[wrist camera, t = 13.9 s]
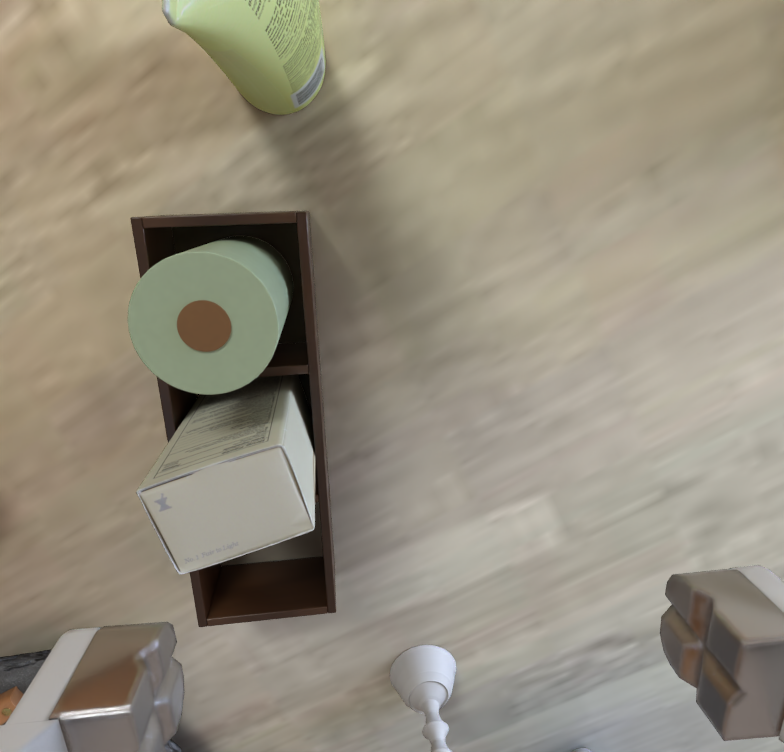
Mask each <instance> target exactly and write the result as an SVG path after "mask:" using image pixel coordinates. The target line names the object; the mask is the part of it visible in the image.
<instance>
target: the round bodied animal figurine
mask: <svg viewBox="0 0 784 752" xmlns="http://www.w3.org/2000/svg"><path fill="white" fill-rule="evenodd" d="M571 752H592V751H590V750H589V749H587V748H578V749H575V750H573V751H571Z"/></svg>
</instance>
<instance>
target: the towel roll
mask: <svg viewBox="0 0 784 752" xmlns="http://www.w3.org/2000/svg"><path fill="white" fill-rule="evenodd" d="M293 291H294V283H293V277H292V273H291V270H290V268H289V266H288V264H287V262H286V260H285V259H284V258H283V256H282V255H281V254H280V253H279V252H278V251H277V250H276V249H275V248H274V247H273V246H271V245H270V244H268V243H267V242H265V241H263V240H260V239H258V238H255V237H251V236H242V235H238V236H230V237H226V238H223V239H220V240H217V241H214V242H211V243H208V244H205V245H202V246H199V247H196V248H193V249H190V250H187V251H184V252H181V253H178V254H175V255H173V256H170V257H168V258H165V259H163V260H162V261H160V262H158V263H157V264H155V265H154V266H153V267H151V268H150V269H149V270H148V271H147V272H146V273H145V274H144V275H143V276H142V278H141V279H140V280H139V282H138V283H137V285H136V287H135V289H134V291H133V293H132V296H131V299H130V302H129V308H128V328H129V333H130V337H131V340H132V343H133V345H134V348H135V350H136V352H137V353H138V355H139V357H140V358H141V360H142V361H143V362H144V364H145V365H146V366H147V367H148V368H149V369H150V370H151V372H153V373H154V374H155V375H156V376H157V377H159V378H160V379H161V380H163V381H164V382H166V383H167V384H169V385H171V386H173V387H175V388H178V389H180V390H183V391H186V392H190V393H195V394H203V395H215V394H223V393H227V392H231V391H234V390H237V389H239V388H241V387H243V386H245V385H247V384H249V383H250V382H251V381H253V380H254V379H256V378H257V377H258V376H259V375H260V374H261V373H262V372H263V371H264V369H265V368H266V367H267V365H268V364H269V362H270V361H271V359H272V357H273V355H274V352H275V350H276V347H277V344H278V341H279V338H280V335H281V332H282V329H283V326H284V323H285V320H286V317H287V314H288V311H289V308H290V305H291V302H292V298H293Z"/></svg>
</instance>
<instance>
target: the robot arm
mask: <svg viewBox="0 0 784 752" xmlns="http://www.w3.org/2000/svg"><path fill="white" fill-rule="evenodd" d="M665 595H666V597H667V598H668V600H669V601H670V602H671V604H672V605H671V606H670V607H669V608H668V610H667V611H666V612H665V613H664V614H663V615H662V617H661V627H660V636H661V641H662V646H663V650H664V653H665V655H666V657H667V659H668V661H669V664H670V665H671V667H672V668H673V669H674V671H675V672H676V674H677V675H678V677H679V678H681V679H682V680H684V681H686V682H687V683H689V684H690V685H692V686H694V687H695V688H697V691H696V702H697V704H698V705H699V707H700V708H701V709H702V711H703V712H704V714H705V715H706V716H707V718H708V719H709V721H710V722H711V723H712V725H713V726H714V728H715V729H716V730H717V732H718V733H719V735H720V736H721V737H722V739H723V740H724V741H728V740H740V739H751V738H763V737H774V736H779V740H780V741H782V742H783V743H784V581H782V580H781V579H780V578H779V577H778V576H777V575H775V574H774V573H773V572H772V571H771V570H770V569H768V568H765V567H763V566H761V565H753V566H744V567H735V568H730V569H722V570H712V571H702V572H693V573H683V574H673V575H671V577H670V578H669V580H668V581H667V585H666V591H665ZM176 643H177V640H176V636H175V631H174V627H173V625H172V624H171V623H169V622H159V623H145V624H131V625H116V626H104V627H97V628H83V629H70V630H68V631H67V632H66V633H64V634H63V635H61V637H60V638H59V639H58V641H57V643H56V644H55V646H54V647H53V649H52V650H51V652H50V654H49V655H48V657H47V658H46V660H45V662H44V663H43V665H42V666H41V668H40V669H39V671H38V673H37V674H36V676H35V677H34V679H33V681H32V682H31V684H30V685H29V687H28V688H27V690H26V692H25V693H24V695H23V696H22V698H21V700H20V701H19V703H18V704H17V706H16V708H15V709H14V711H13V712H12V714H11V715H10V717H9V719H8V720H7V722H6V723H5V725H0V752H166V750H165V744H166V743H167V742H168V741H169V740H170V739H171V738H172V737H173V736H174V735H175V733H176V732H177V729H178V726H179V722H180V719H181V715H182V708H183V700H184V675H183V670H182V664H180V663H179V662H178V661H177V660H176V659H174V658H173V657H172V655H173V652H174V649H175V646H176Z"/></svg>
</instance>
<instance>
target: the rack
mask: <svg viewBox="0 0 784 752" xmlns="http://www.w3.org/2000/svg"><path fill="white" fill-rule="evenodd" d="M296 222H297V232H298V244H299V257H300V269H301V282H302V294H303V307H304V320H305V332H306V342H299V343H282V344H277V347H276V350H275V352H274V355H273V357H272V359H271V361H270V362H269V364H268V365H267V367H266V368H265V369H264V371H263V372H262V373H261V374H260V375H259V376H258V377H265V376H281V375H297V374H308V373H309V383H310V395H311V408H312V420H313V433H314V445H315V503H317V502H319V508H320V521H321V533H322V546H323V557H313V558H303V559H292V560H282V561H272V562H262V563H251V564H241V565H231V566H222V567H221V563H218V564H215V565H212V566H209V567H206V568H203V569H199V570H196V571H192V572H190V577H191V583H192V589H193V595H194V601H195V607H196V613H197V619H198V625H199V627H205V626H207V625H208V626H214V625H223V624H233V623H242V622H251V621H261V620H270V619H279V618H288V617H298V616H307V615H316V614H325V613H335V612H336V589H335V559H334V545H333V531H332V518H331V504H330V490H329V476H328V462H327V449H326V435H325V421H324V407H323V393H322V380H321V366H320V352H319V338H318V324H317V311H316V297H315V283H314V269H313V255H312V242H311V228H310V214H309V211H279V212H249V213H218V214H187V215H159V216H145V217H131V224H132V230H133V236H134V242H135V248H136V254H137V260H138V266H139V272H140V278H142V276H143V275H144V274H145V273H146V272H147V271H148V270H149V269H150V268H151V267H153V266H154V265H155V264H157V263H158V262H160V261H162V260H163V259H165V258H168V257H170V256H173V255H175V254H176V253H175V246H174V239H173V232H172V227H195V226H224V225H253V224H281V223H296ZM157 380H158V386H159V392H160V398H161V404H162V410H163V416H164V422H165V428H166V434H167V440H168V443H169V441H170V440H171V438H172V437H173V435H174V433H175V432H176V430H177V429H178V427H179V426H180V425H181V423H182V421H183V420H184V418H185V417H186V415H187V414H188V412H189V411H190V409H191V408H192V406H193V405H194V403H195V402H196V400H197V396H196V394H195V393H190V392H186V391H183V390H180V389H178V388H175V387H173V386H171V385H169V384H167V383H166V382H164V381H163V380H161V379H160V378H159V377H157Z"/></svg>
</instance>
